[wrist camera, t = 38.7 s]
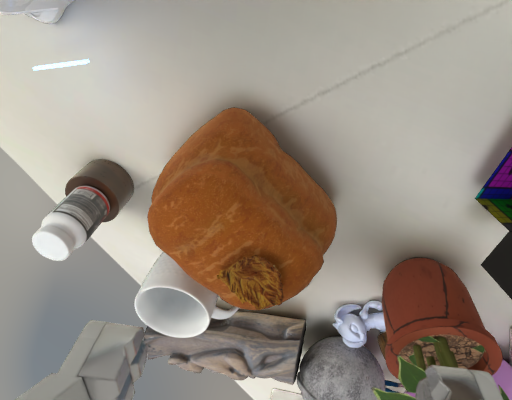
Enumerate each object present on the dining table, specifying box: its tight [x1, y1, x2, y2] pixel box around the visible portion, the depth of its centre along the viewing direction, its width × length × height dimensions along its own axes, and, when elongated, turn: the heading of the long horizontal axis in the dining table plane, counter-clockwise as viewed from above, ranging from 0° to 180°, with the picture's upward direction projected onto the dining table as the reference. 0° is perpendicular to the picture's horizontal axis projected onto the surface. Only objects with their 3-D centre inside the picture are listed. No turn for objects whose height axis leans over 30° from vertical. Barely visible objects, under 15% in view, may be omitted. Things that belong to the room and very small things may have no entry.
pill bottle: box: [32, 186, 110, 261], centre depth 48 cm, size 6×6×10 cm
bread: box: [148, 107, 337, 310], centre depth 45 cm, size 18×22×17 cm
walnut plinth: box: [65, 159, 134, 222], centre depth 54 cm, size 8×8×5 cm
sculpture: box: [143, 308, 306, 385], centre depth 65 cm, size 12×12×28 cm
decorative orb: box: [297, 337, 385, 400], centre depth 64 cm, size 15×14×15 cm
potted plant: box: [371, 258, 509, 400], centre depth 43 cm, size 17×16×35 cm
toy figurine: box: [333, 301, 386, 348], centre depth 61 cm, size 7×6×12 cm
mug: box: [134, 252, 239, 338], centre depth 56 cm, size 15×11×13 cm
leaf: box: [217, 255, 284, 310], centre depth 38 cm, size 6×7×2 cm
